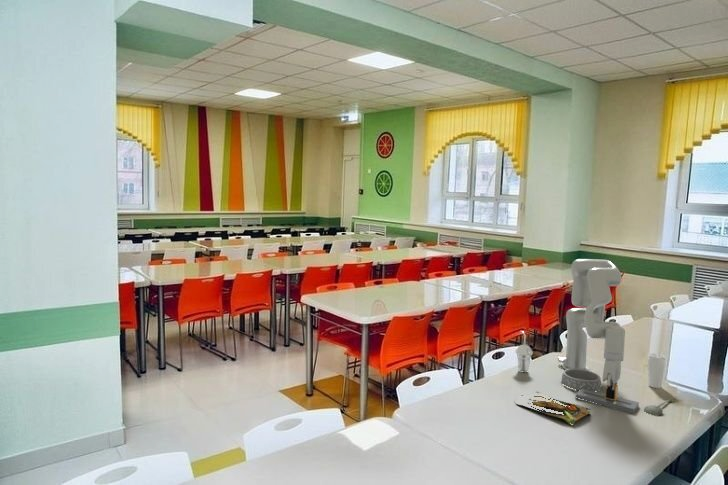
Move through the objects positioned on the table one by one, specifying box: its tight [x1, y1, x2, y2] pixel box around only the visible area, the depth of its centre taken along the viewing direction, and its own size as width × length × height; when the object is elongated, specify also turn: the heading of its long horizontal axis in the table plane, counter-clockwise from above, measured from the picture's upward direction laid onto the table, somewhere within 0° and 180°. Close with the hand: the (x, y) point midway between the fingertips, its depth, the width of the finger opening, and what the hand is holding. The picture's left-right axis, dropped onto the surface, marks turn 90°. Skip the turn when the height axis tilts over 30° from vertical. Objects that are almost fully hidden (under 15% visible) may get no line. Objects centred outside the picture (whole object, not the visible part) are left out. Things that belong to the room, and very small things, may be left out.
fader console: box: [575, 388, 640, 414], centre depth 215 cm, size 23×9×2 cm, turn 50°
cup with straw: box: [514, 330, 534, 372], centre depth 252 cm, size 8×9×20 cm
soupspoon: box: [643, 398, 674, 417], centre depth 210 cm, size 22×3×7 cm
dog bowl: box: [561, 369, 602, 392], centre depth 235 cm, size 17×18×5 cm
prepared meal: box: [521, 391, 592, 425], centre depth 208 cm, size 28×4×18 cm
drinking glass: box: [647, 352, 666, 389], centre depth 233 cm, size 7×7×15 cm
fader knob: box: [604, 384, 619, 401], centre depth 214 cm, size 4×3×6 cm
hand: (611, 396), depth 214 cm, fingers closed on fader knob, 3 cm apart
